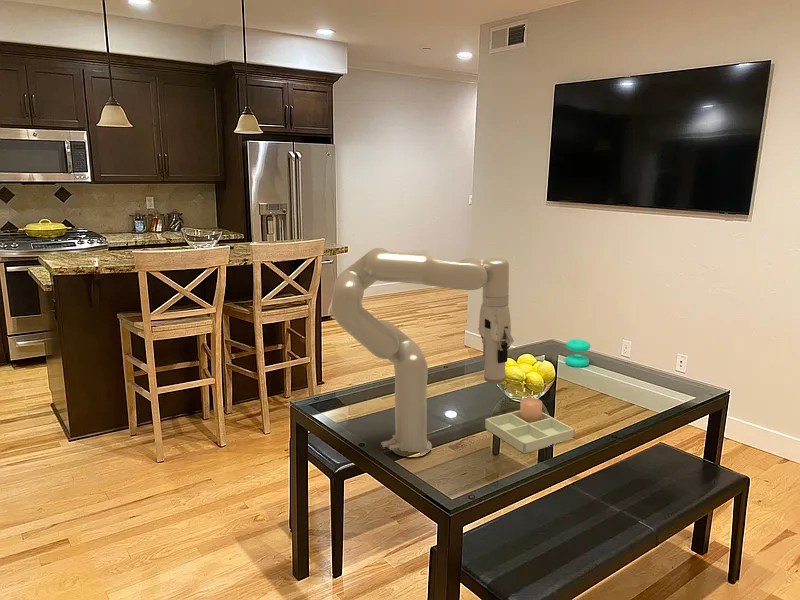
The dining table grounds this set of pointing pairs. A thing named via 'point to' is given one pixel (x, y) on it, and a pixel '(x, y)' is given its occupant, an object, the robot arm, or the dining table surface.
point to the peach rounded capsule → (531, 410)
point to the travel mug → (492, 358)
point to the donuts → (577, 359)
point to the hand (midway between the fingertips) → (495, 358)
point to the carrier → (528, 431)
